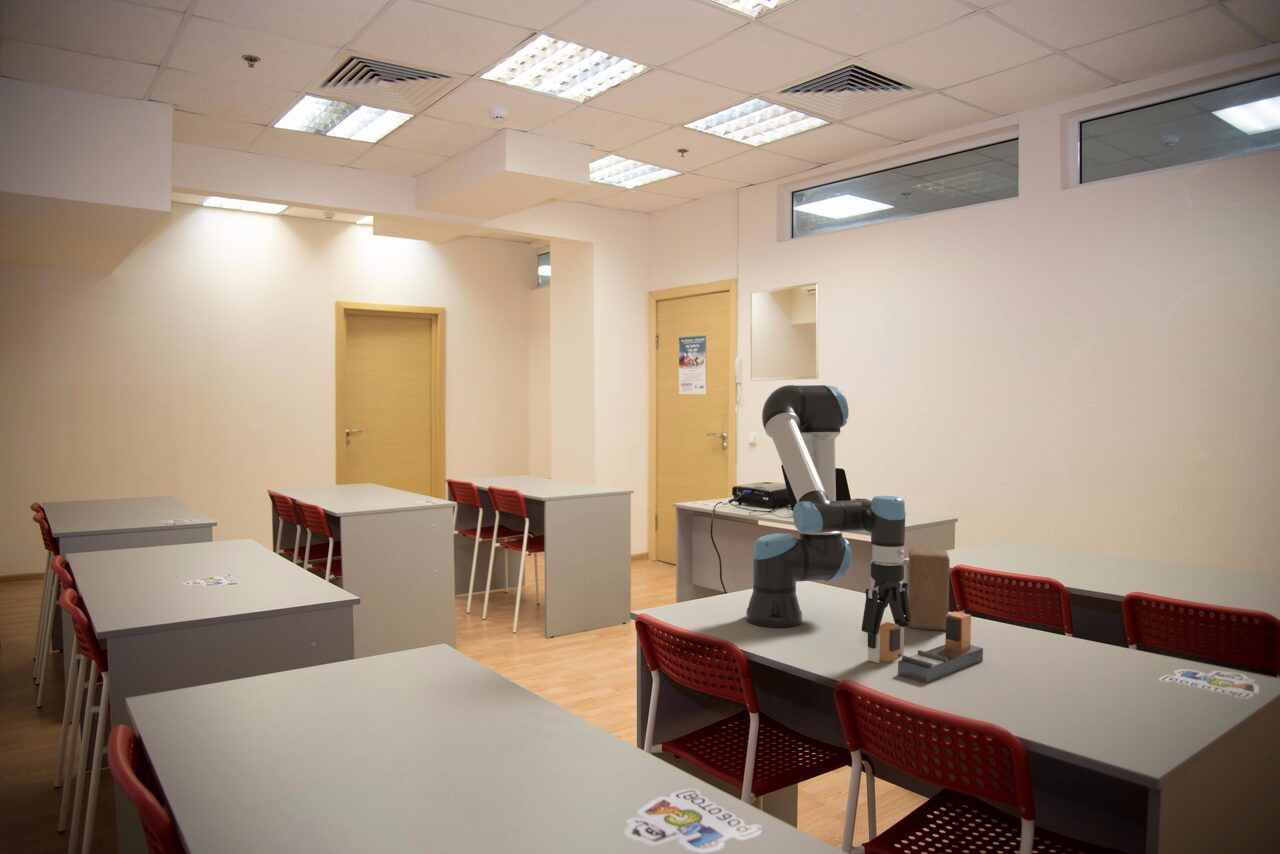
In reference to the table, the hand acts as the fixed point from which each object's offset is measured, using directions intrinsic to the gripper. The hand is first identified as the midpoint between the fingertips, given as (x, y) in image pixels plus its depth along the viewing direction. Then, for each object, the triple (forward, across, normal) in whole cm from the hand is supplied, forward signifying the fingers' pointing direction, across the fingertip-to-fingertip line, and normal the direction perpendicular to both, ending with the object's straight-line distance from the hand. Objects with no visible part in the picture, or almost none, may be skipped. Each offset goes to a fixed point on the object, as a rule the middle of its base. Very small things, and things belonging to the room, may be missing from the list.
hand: (886, 657), depth 193 cm
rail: (0, +4, -12) cm, 13 cm away
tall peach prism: (0, 0, 0) cm, 0 cm away
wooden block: (0, +33, +9) cm, 34 cm away
